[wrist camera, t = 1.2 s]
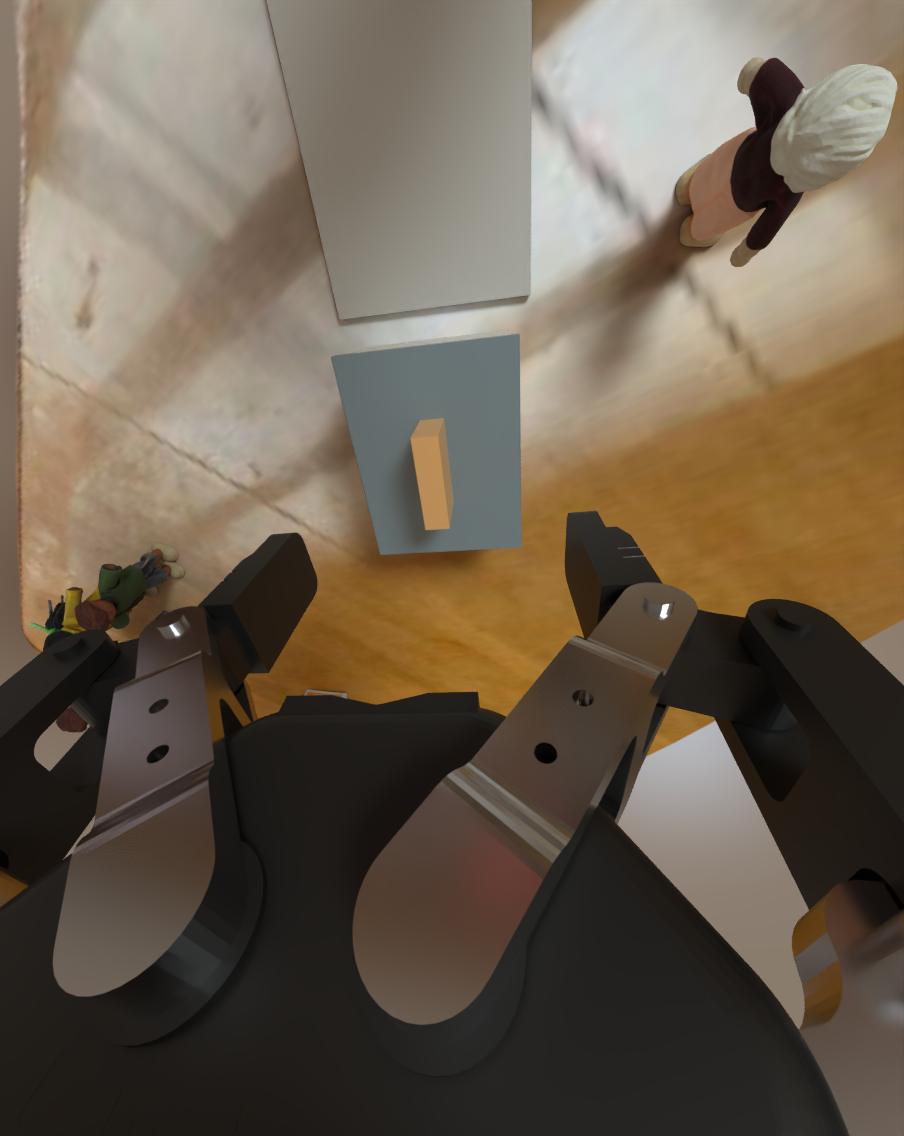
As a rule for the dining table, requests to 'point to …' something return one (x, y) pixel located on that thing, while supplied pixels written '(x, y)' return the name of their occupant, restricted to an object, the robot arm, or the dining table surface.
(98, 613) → the doll family
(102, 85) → the dining table surface
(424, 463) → the lid
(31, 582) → the dining table surface
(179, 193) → the dining table surface
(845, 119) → the grandmother figurine
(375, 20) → the mat
